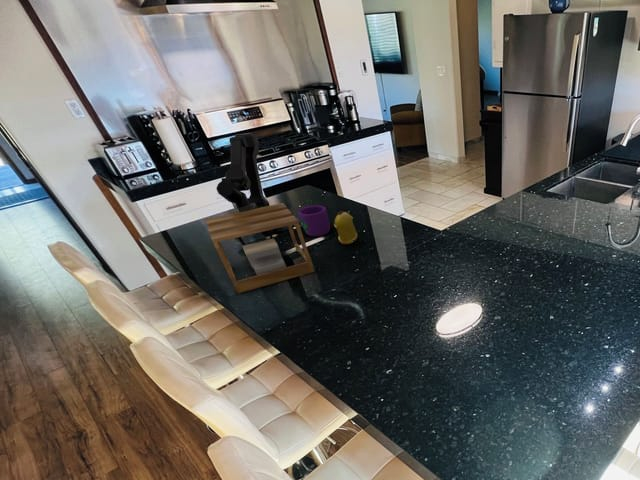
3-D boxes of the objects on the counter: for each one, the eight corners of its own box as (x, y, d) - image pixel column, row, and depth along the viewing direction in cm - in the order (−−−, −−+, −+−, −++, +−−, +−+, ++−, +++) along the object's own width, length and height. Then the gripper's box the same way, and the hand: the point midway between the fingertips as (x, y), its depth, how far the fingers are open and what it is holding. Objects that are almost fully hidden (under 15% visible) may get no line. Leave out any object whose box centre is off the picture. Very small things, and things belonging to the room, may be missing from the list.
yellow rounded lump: (360, 247, 163) (351, 210, 153) (340, 250, 161) (330, 213, 151) (357, 236, 171) (349, 200, 161) (338, 239, 169) (328, 203, 159)
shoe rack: (228, 268, 152) (204, 218, 139) (299, 250, 162) (282, 202, 150) (237, 293, 137) (212, 240, 125) (314, 271, 148) (297, 220, 135)
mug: (336, 232, 175) (330, 209, 168) (312, 240, 169) (305, 217, 162) (318, 221, 184) (311, 199, 178) (294, 229, 178) (287, 206, 172)
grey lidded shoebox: (281, 257, 157) (273, 238, 152) (291, 274, 147) (283, 253, 142) (250, 265, 153) (242, 245, 147) (258, 283, 142) (249, 262, 137)
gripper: (210, 201, 139) (228, 242, 140) (266, 190, 147) (283, 229, 147) (217, 217, 150) (234, 255, 150) (269, 206, 157) (285, 242, 157)
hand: (259, 245), depth 151 cm, fingers open, 9 cm apart
